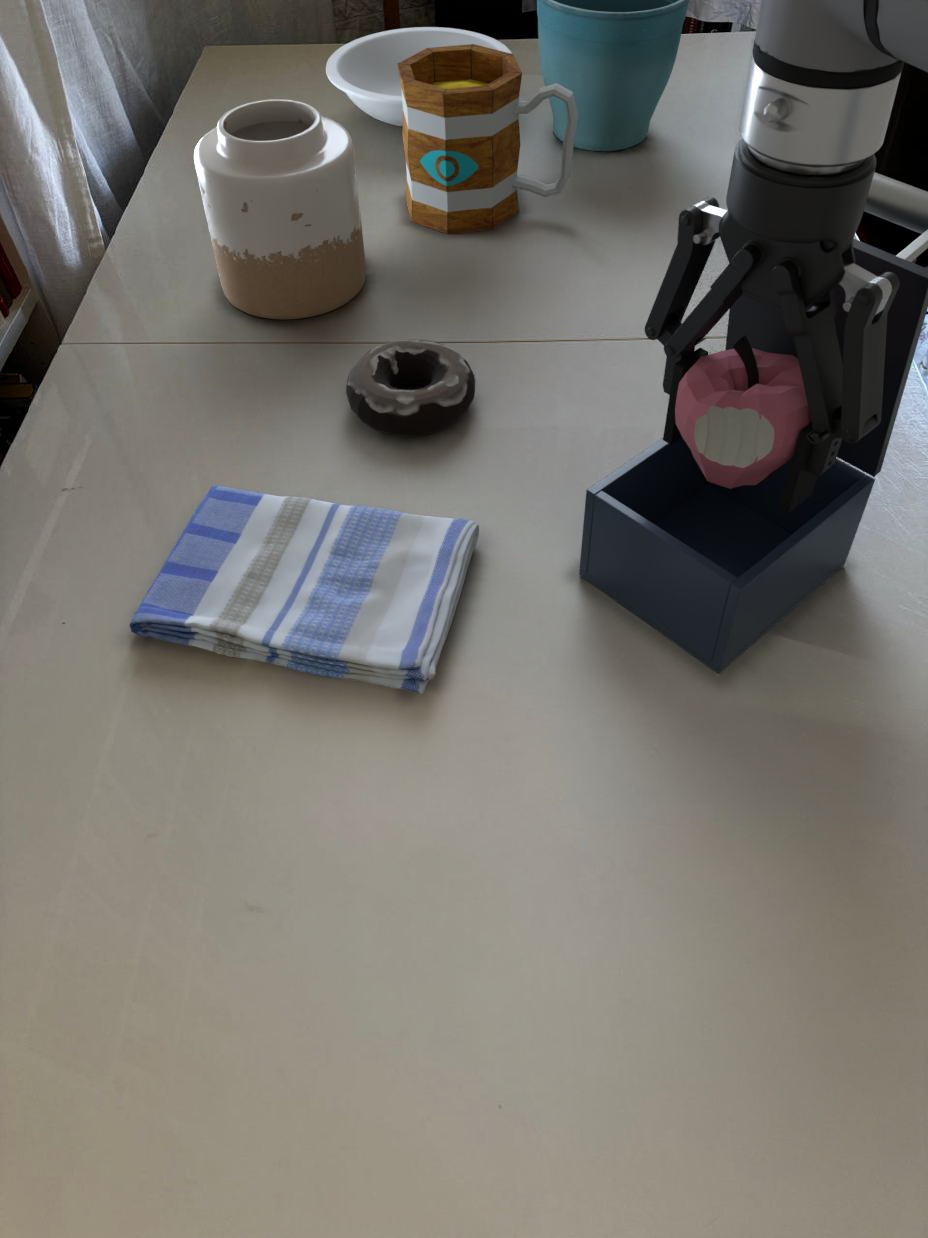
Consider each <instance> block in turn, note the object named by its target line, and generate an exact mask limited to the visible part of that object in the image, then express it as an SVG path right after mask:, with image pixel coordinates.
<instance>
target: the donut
mask: <svg viewBox="0 0 928 1238" xmlns="http://www.w3.org/2000/svg"><path fill="white" fill-rule="evenodd" d="M412 384H414V385H422V386H423V387H419V388H414V389H400V388H397V387H400V386H405V385H412ZM345 394H346V397H347V400H348V403H349V407H350V408H351V411H352V412H353V413H354V414H355V415H356V416H357V418H359V420H360V421H361V422H362V423H363V424H366V425H367V426H369V427H370V428H372V429H374V430H376V431H378V432H382V433H385V434H388V435H392V436H401V437H415V436H416V437H417V436H426V435H429V434H433V433H436V432H440V431H442V430H443V429H445V428H447V427H449V426H451V425H453V424H455V423H456V422H458V420H459V419H461V418H462V417H463V416H464V415H465V414H466V413H467V412H468V410H469V408H470V407H471V405H472V402H473V400H474V398H475V395H476V377H475V373H474V372H473V370H472V367H471V365H470V364H469V362H468V361H467V360H466V358H464V357H463V356H462V354H460V353H459V352H457V350H455V349H453V348H451V347H449V346H447V345H445V344H443V343H439V342H436V341H433V340H432V341H431V340H426V339H415V338H414V339H413V338H411V339H403V340H401V339H400V340H395V341H390V342H387V343H384V344H381V345H379V346H377V347H374V348H372V349H370V350H368V352H366V353H365V354H364V355H362V356H361V357H360V358H358V359H357V361H356V362H354V365H353V366H352V368H351V370H350V371H349V372H348V375H347V380H346V386H345Z"/></svg>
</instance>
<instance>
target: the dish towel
mask: <svg viewBox="0 0 928 1238" xmlns="http://www.w3.org/2000/svg"><path fill="white" fill-rule="evenodd" d="M479 533H480V525H479V524H478V523H477V522H476V521H475V520H469V519H464V518H452V517H440V516H433V515H422V514H417V513H416V514H415V513H407V512H404V511H397V510H392V509H391V510H390V509H385V508H384V509H383V508H378V507H371V506H363V505H347V504H341V503H334V502H329V501H324V500H318V499H314V498H309V497H302V496H289V495H288V496H287V495H285V496H281V495H280V496H278V495H273V494H268V493H264V492H263V493H262V492H258V491H251V490H244V489H237V488H234V487H233V488H232V487H226V486H222V485H217V484H214V485H211V487H210V488H209V490H208V492H207V493H206V495H205V497H204V498H203V499H202V501H201V502H200V503H199V505H198V506H197V508H196V510H195V511H194V512H193V514H192V516H191V517H190V519H189V521H188V522H187V523H186V526H185V527H184V529H183V531H182V533H181V534H180V536H179V537H178V539H177V541H176V543H175V545H174V546H173V548H172V549H171V551H170V553H169V555H168V556H167V558H166V559H165V561H164V563H163V565H162V567H161V569H160V571H159V573H158V574H157V576H156V578H155V579H154V580H153V582H152V583H151V585H150V586H149V589H148V591H147V592H146V594H145V595H144V598H143V599H142V601H141V603H140V605H139V606H138V608H137V610H136V611H135V613H134V614H133V615H132V618H131V621H130V622H129V628H130V632H131V633H133V634H135V635H137V636H141V637H145V638H150V639H156V640H159V641H164V642H168V643H174V644H178V645H183V646H188V647H189V646H191V647H195V648H199V649H202V650H205V651H209V652H212V653H215V654H218V655H224V656H226V657H229V658H237V659H245V660H251V661H254V662H255V661H256V662H262V663H267V664H272V665H276V666H277V667H281V668H284V669H290V670H293V671H297V672H300V673H303V674H308V675H313V676H318V677H323V678H331V679H340V680H341V679H342V680H348V681H355V682H358V683H359V682H360V683H364V684H365V683H366V684H372V685H377V686H382V687H388V688H391V689H396V690H404V691H405V690H406V691H411V692H414V693H416V694H419V695H423V694H424V693H425V692H426V688H427V685H428V682H430V681H433V680H434V678H435V676H436V675H437V673H436V672H437V671H436V670H437V666H438V663H439V661H440V658H441V655H442V650H443V648H444V646H445V643H446V641H447V637H448V635H449V631H450V629H451V625H452V623H453V620H454V617H455V614H456V610H457V607H458V603H459V600H460V597H461V593H462V590H463V587H464V583H465V579H466V576H467V571H468V570H469V565H470V562H471V560H472V556H473V553H474V550H475V547H476V545H477V543H478V539H479Z"/></svg>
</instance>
